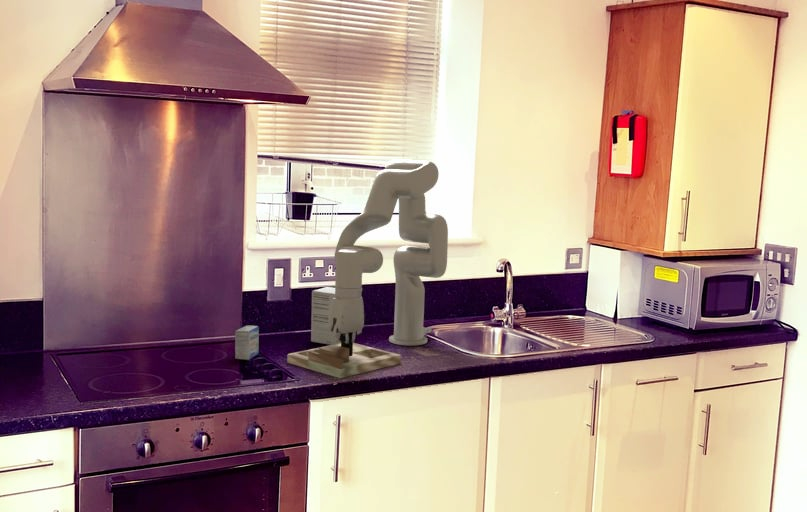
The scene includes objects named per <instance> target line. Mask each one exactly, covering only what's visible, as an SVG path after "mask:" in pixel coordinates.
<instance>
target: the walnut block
mask: <svg viewBox="0 0 807 512" xmlns="http://www.w3.org/2000/svg"><path fill="white" fill-rule="evenodd" d="M321 347H322V348H320V347H318V348H319V353H320V354H324V355H327V356H331V357H334V358H338V359H342V360H343V364H344V363H348V362H349V348H345V347H341V346H337V345H331V346H330V345H326V347H325V346H321Z"/></svg>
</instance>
